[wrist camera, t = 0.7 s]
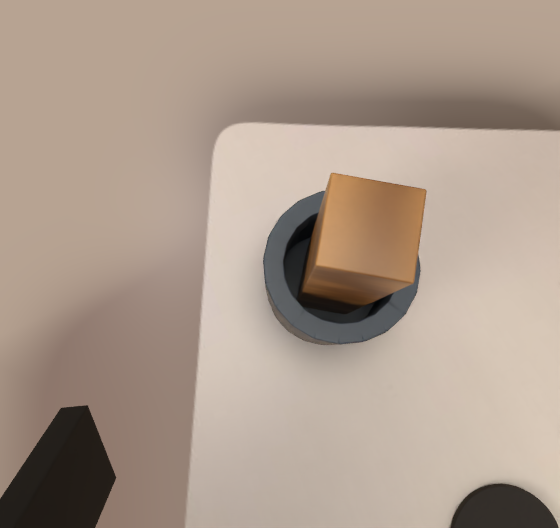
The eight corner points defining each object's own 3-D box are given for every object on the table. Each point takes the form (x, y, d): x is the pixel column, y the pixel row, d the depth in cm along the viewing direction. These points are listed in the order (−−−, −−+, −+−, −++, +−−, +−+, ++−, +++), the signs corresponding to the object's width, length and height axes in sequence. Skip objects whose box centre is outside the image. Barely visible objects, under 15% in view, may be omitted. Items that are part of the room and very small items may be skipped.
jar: (262, 235, 37) (257, 196, 28) (373, 225, 38) (408, 183, 28) (272, 349, 36) (271, 350, 26) (388, 338, 36) (431, 335, 26)
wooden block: (295, 305, 36) (314, 265, 18) (304, 256, 36) (330, 171, 19) (346, 314, 36) (414, 284, 18) (354, 265, 36) (427, 188, 19)
